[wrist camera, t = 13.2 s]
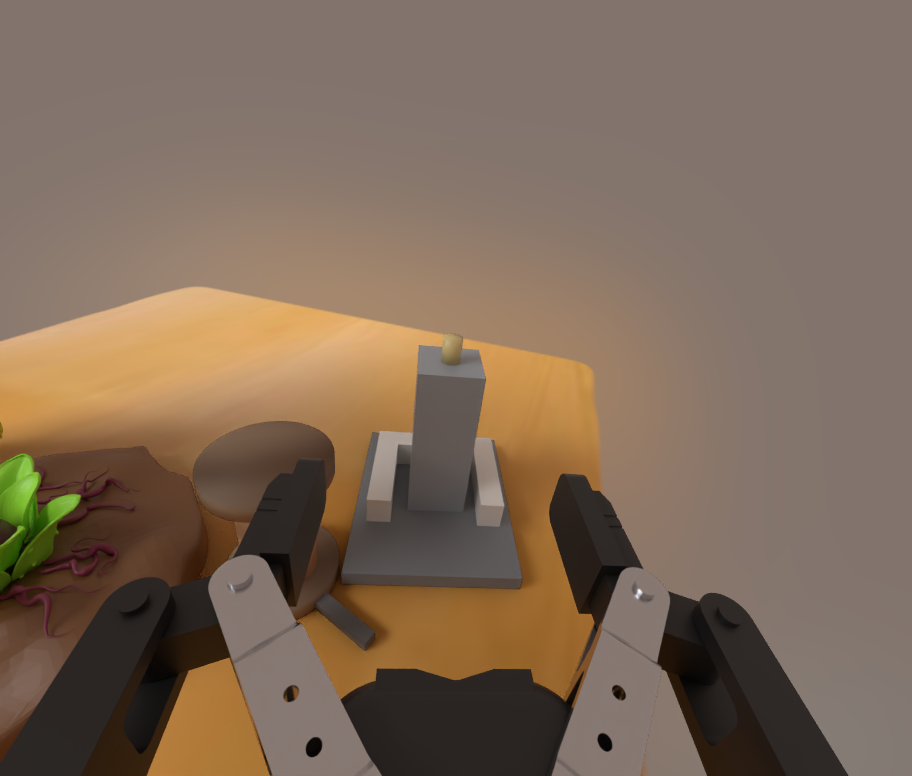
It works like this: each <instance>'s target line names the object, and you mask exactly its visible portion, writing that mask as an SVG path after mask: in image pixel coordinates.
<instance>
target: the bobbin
mask: <svg viewBox="0 0 912 776" xmlns="http://www.w3.org/2000/svg"><path fill="white" fill-rule="evenodd" d="M299 458H312V459H324V463H325V479H326V490H327V489H328V487H329V486H330V484H331V482H332V480H333V477H334V473H335V455H334V447H333V445H332V442H331V441H330V439H329V438H328V437H327V436H326V435H325V434H324V433H323V432H321V431H320V430H318V429H316V428H314V427H311V426H309V425H305V424H302V423H296V422H288V421H274V422H264V423H258V424H253V425H249V426H246V427H243V428H240V429H237V430H234V431H232V432H230V433H228V434H226V435H224V436H222V437H220V438H219V439H217V440H216V441H214V442H213V443H211V444H210V445H209V446H208V447H207V448H206V449H205V450H204V451H203V452H202V453H201V454H200V456H199V457H198V459H197V460H196V463H195V465H194V468H193V480H194V484H195V487H196V491H197V495H198V498H199V500H200V502H201V504H202V505H203V507H204V508H205V509H206V510H208V511H209V512H210V513H211V514H213V515H215V516H217V517H219V518H222V519H225V520H229V521H234V524H235V528H236V532H237V537H238V541H239V545H240V543H241V541H242V539H243V537H244V534H245V532H246V530H247V528H248V526H249V524H250V522H251V520H252V518H253V515H254V513H255V512H256V510H257V507H258V505H259V503H260V501H261V500H262V497H263V494H264V492H265V490H266V488H267V486H268V484H269V483H270V482H271V481H273V480H274V479H275V478H276V477H277V476H278V475H279V474H280V473H289V474H293V471H294V469H295V466H296V464H297V462H298V460H299ZM239 545H238V546H237V547H236V548H235V549H234V551H233V552H232V553H231V555H230V556H229V558H228V560H227V561H229V560H231V559H232V558H233V557H234V555H235V553H236V551H237V549H238V547H239ZM338 574H339V550H338V545H337V543H336V540H335V539H334V537H333V536H332V534H331V533H330V532H329V531H328V530H327V529H325V528H324V527H322V526H320V527H319V530H318V534H317V537H316V541H315V544H314V548H313V551H312V554H311V558H310V561H309V565H308V568H307V572H306V575H305V579H304V582H303V585H302V589H301V592H300V596H299V599H298V603H297V606H296V607H289V608H290V610H291V612H292V614H293V616H294V618H295V620H296V619H298V618H300V617H302V616H304V615H306V614H308V613H309V612H311V611H312V610H314V609H317V610H318V611H319V612H320V613H321V614H322V615H324V616H325V617H326V618H327V619H328V620H329V621H331V622H332V623H333V624H334V625H335V626H336V627H338V628H339V629H340V630H341V631H342V632H343V633H345V634H346V635H347V636H348V637H349V638H350V639H352V640H353V641H354V642H355V643H356V644H357V645H359V646H360V647H361V648H362V649H363V650H364V651H365V650H366V648H367V647H368V646H369V645H370V644H371V642H372V641H373V640H374V639H375V631H374V630H372V629H371V628H370V627H369V626H367V625H366V624H365V623H364V622H363V621H361V620H360V619H359V618H358V617H356V616H355V615H354V614H353V613H352V612H350V611H349V610H348V609H347V608H345V607H344V606H343V605H342V604H341V603H339V602H338V601H337V600H336V599H334V598H333V597H332V596H331V595H330V594H329V593H330V592H331V590H332V589H333V587H334V585H335V583H336V581H337V577H338Z"/></svg>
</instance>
